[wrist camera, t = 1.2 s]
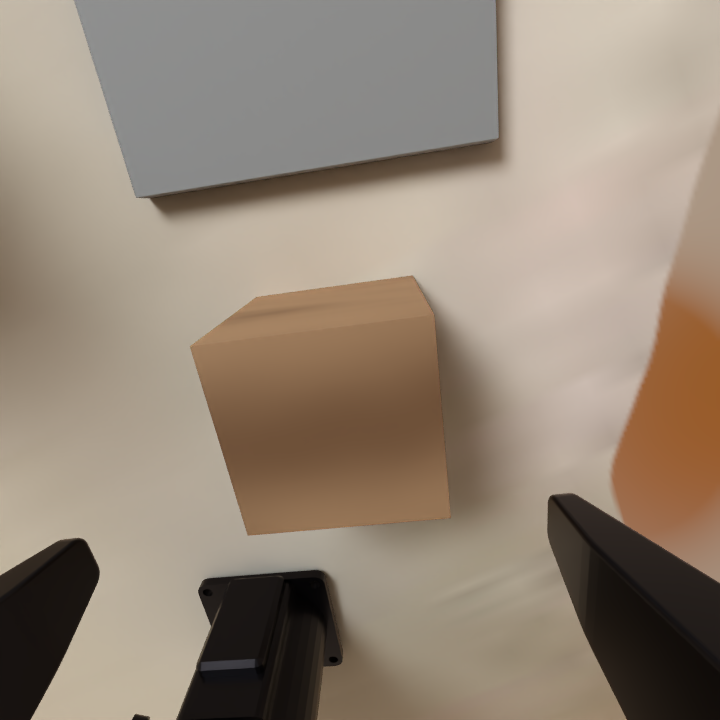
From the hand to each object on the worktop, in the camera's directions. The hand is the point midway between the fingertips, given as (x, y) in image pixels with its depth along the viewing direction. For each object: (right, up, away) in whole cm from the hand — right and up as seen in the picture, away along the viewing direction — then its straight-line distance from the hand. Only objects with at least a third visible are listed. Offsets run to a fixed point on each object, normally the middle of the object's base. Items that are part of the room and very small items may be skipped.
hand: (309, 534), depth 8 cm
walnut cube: (0, +3, +9) cm, 9 cm away
